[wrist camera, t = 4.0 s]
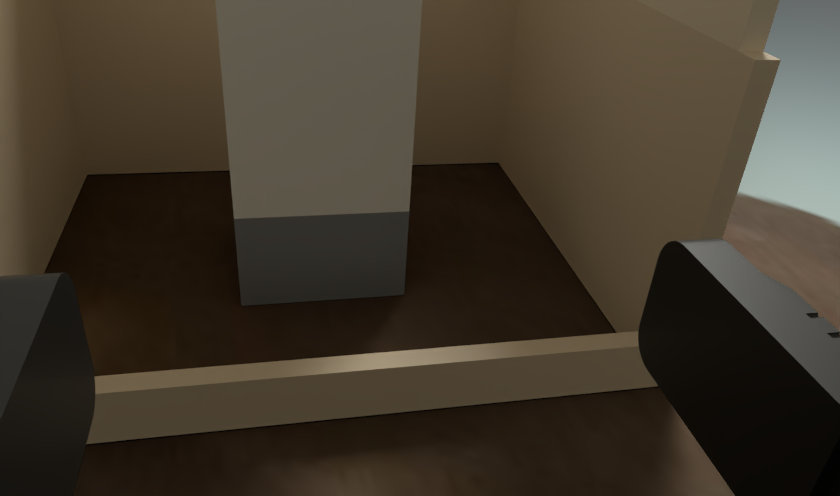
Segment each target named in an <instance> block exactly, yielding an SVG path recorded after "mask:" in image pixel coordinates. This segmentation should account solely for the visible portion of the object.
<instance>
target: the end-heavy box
mask: <svg viewBox="0 0 840 496" xmlns="http://www.w3.org/2000/svg"><path fill="white" fill-rule="evenodd" d="M215 2H216V14H217V26H218V38H219V50H220V61H221V73H222V85H223V97H224V108H225V120H226V132H227V144H228V156H229V167H230V179H231V191H232V203H233V214H234V226H235V238H236V250H237V262H238V273H239V285H240V297H241V306H247V305H262V304H277V303H292V302H307V301H322V300H337V299H352V298H367V297H382V296H397V295H404V290H405V274H406V258H407V241H408V225H409V209H410V192H411V176H412V160H413V143H414V127H415V111H416V94H417V78H418V62H419V46H420V29H421V13H422V0H215Z"/></svg>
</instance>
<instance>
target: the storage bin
mask: <svg viewBox="0 0 840 496" xmlns="http://www.w3.org/2000/svg"><path fill="white" fill-rule="evenodd" d="M778 3H779V0H422V13H421V29H420V46H419V62H418V78H417V94H416V111H415V127H414V143H413V160H412V165H432V164H466V163H499V164H500V166H501V167H502V169H503V170H504V172H505V173H506V175H507V176H508V177H509V179H510V180H511V182H512V183H513V185H514V186H515V187H516V189H517V190H518V192H519V193H520V195H521V196H522V198H523V199H524V200H525V202H526V203H527V205H528V206H529V208H530V209H531V210H532V212H533V213H534V215H535V216H536V218H537V219H538V220H539V222H540V223H541V225H542V226H543V228H544V229H545V231H546V232H547V233H548V235H549V236H550V238H551V239H552V241H553V242H554V243H555V245H556V246H557V248H558V249H559V251H560V252H561V254H562V255H563V256H564V258H565V259H566V261H567V262H568V264H569V265H570V266H571V268H572V269H573V271H574V272H575V274H576V275H577V276H578V278H579V279H580V281H581V282H582V284H583V285H584V287H585V288H586V289H587V291H588V292H589V294H590V295H591V297H592V298H593V299H594V301H595V302H596V304H597V305H598V307H599V308H600V310H601V311H602V312H603V314H604V315H605V317H606V318H607V320H608V321H609V322H610V324H611V325H612V327H613V328H614V330H615V331H616V333H609V334H597V335H585V336H573V337H561V338H549V339H537V340H525V341H513V342H501V343H489V344H477V345H465V346H453V347H441V348H429V349H417V350H405V351H393V352H381V353H369V354H357V355H345V356H333V357H321V358H309V359H297V360H285V361H273V362H261V363H249V364H237V365H225V366H213V367H201V368H189V369H177V370H165V371H153V372H141V373H129V374H117V375H105V376H94V377H95V408H94V415H93V420H92V424H91V428H90V432H89V436H88V439H87V443H86V444H93V443H103V442H113V441H122V440H132V439H142V438H152V437H162V436H172V435H182V434H192V433H202V432H211V431H221V430H231V429H241V428H251V427H261V426H271V425H281V424H290V423H300V422H310V421H320V420H330V419H340V418H350V417H360V416H370V415H379V414H389V413H399V412H409V411H419V410H429V409H439V408H449V407H458V406H468V405H478V404H488V403H498V402H508V401H518V400H528V399H538V398H547V397H557V396H567V395H577V394H587V393H597V392H607V391H617V390H627V389H636V388H646V387H656V386H658V385H657V383H656V382H655V380H654V379H653V377H652V376H651V375H650V373H649V372H648V370H647V369H646V367H645V365H644V363H643V361H642V358H641V355H640V351H639V344H638V331H639V325H640V321H641V318H642V314H643V310H644V307H645V303H646V300H647V296H648V292H649V289H650V285H651V282H652V278H653V274H654V271H655V267H656V264H657V260H658V257H659V254H660V251H661V250H662V248H663V247H664V245H665V244H667V243H668V242H670V241H680V240H698V239H716V238H718V239H722V237H723V234H724V231H725V228H726V225H727V222H728V219H729V216H730V213H731V210H732V207H733V204H734V201H735V198H736V195H737V191H738V188H739V185H740V182H741V179H742V176H743V173H744V170H745V167H746V164H747V161H748V158H749V155H750V152H751V149H752V145H753V143H754V140H755V137H756V134H757V131H758V127H759V124H760V121H761V118H762V115H763V112H764V109H765V106H766V103H767V100H768V97H769V94H770V91H771V88H772V85H773V82H774V79H775V76H776V72H777V69H778V66H779V63H780V59H777V58H775V57H773V56H771V55H769V54H767V53H765V52H763V51H764V48H765V44H766V42H767V38H768V35H769V32H770V29H771V25H772V22H773V19H774V16H775V13H776V9H777V6H778ZM229 170H230V167H229V156H228V144H227V132H226V120H225V108H224V97H223V85H222V73H221V61H220V50H219V38H218V26H217V14H216V2H215V0H0V276H9V275H28V274H44V272H45V270H46V268H47V266H48V263H49V261H50V259H51V256H52V254H53V252H54V250H55V247H56V245H57V243H58V240H59V238H60V236H61V234H62V231H63V229H64V227H65V224H66V222H67V220H68V218H69V215H70V213H71V211H72V208H73V206H74V204H75V202H76V199H77V197H78V195H79V193H80V190H81V188H82V186H83V183H84V181H85V179H86V177H87V175H93V174H127V173H161V172H195V171H229Z"/></svg>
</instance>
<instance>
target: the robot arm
mask: <svg viewBox="0 0 840 496" xmlns="http://www.w3.org/2000/svg"><path fill="white" fill-rule="evenodd" d="M839 333H840V332H839V331H838V330H837V329H836V328H835V327H834V326H832V325H831V324H830V323H829V322H828V321H827V320H826V319H825V318H824V317H820V318H819V317H818V312H817V311H816V310H815V309H814V308H812V307H811V306H810V305H809V304H808V303H807V302H806V301H805V300H803V299H802V298H801V297H800V296H799V295H798V294H797V293H796V292H795V291H793V290H792V289H791V288H789V287H787V286H785V285H784V284H782V283H780V282H778V281H776V280H774V279H773V278H771V277H769V276H767V275H765V274H764V273H762V272H760V271H759V270H758V269H757V268H755V267H754V266H753V265H752V264H751V263H750V262H749V261H748V260H747V259H746V258H745V257H743V256H742V255H741V254H740V253H739V252H738V251H737V250H736V249H735V248H734V247H733V246H731V245H730V244H729V243H728V242H727V241H725V240H723V239H718V238H716V239H698V240H680V241H670V242H668V243H667V244H665V245H664V247H663V248H662V250H661V251H660V254H659V257H658V260H657V264H656V267H655V271H654V274H653V278H652V282H651V285H650V289H649V292H648V296H647V300H646V303H645V307H644V310H643V314H642V318H641V321H640V325H639V331H638V344H639V351H640V355H641V358H642V361H643V363H644V365H645V367H646V369H647V370H648V372H649V373H650V375H651V376H652V377H653V379H654V380H655V382H656V383H657V385H658V386H659V387H660V389H661V390H662V392H663V393H664V395H665V396H666V397H667V399H668V400H669V402H670V403H671V405H672V406H673V407H674V409H675V410H676V412H677V413H678V415H679V416H680V417H681V419H682V420H683V422H684V423H685V425H686V426H687V427H688V429H689V430H690V432H691V433H692V435H693V436H694V437H695V439H696V440H697V442H698V443H699V445H700V446H701V447H702V449H703V450H704V452H705V453H706V455H707V456H708V457H709V459H710V460H711V462H712V463H713V465H714V466H715V467H716V469H717V470H718V472H719V473H720V475H721V476H722V477H723V479H724V480H725V482H726V483H727V485H728V486H729V487H730V489H731V490H732V492H733V493H734V495H735V496H840V335H839ZM94 408H95V377H94V370H93V365H92V360H91V356H90V352H89V348H88V343H87V339H86V335H85V330H84V326H83V322H82V317H81V313H80V309H79V305H78V300H77V296H76V292H75V288H74V284H73V282H72V279H71V278H70V276H69V275H68V274H67V273H46V274H28V275H9V276H0V496H73V494H74V490H75V486H76V482H77V478H78V474H79V470H80V467H81V463H82V459H83V455H84V451H85V447H86V443H87V439H88V436H89V432H90V428H91V424H92V420H93V415H94Z"/></svg>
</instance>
